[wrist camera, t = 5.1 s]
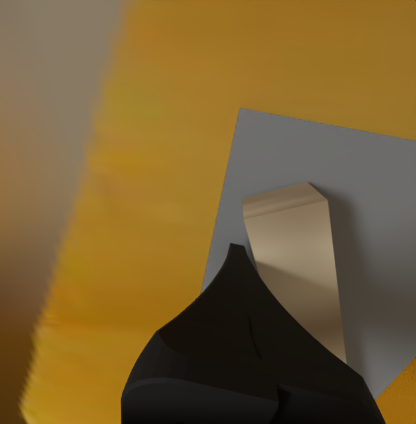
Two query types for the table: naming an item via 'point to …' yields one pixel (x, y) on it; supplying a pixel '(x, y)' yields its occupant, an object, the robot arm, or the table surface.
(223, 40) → the table surface
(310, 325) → the stool leg
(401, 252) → the stool seat
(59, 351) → the table surface
